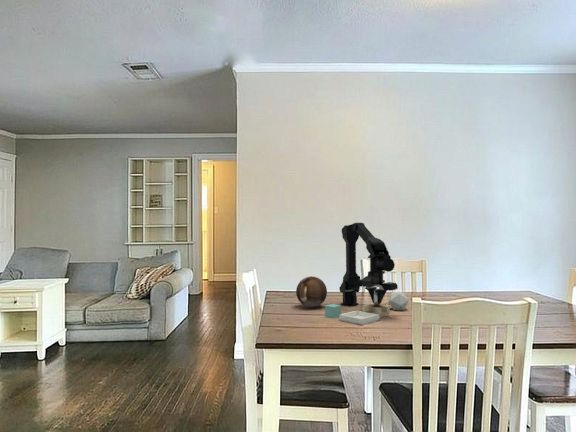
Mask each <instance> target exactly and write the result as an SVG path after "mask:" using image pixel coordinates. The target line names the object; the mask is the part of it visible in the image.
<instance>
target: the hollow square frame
mask: <svg viewBox="0 0 576 432" xmlns="http://www.w3.org/2000/svg"><path fill="white" fill-rule="evenodd" d="M363 308H364V309H363V312H367V313H373V314H378V315H379V319H381V318H384V317H388V316H390V305H384V304H380V307H374V303H372V304H368V305H364V306H363Z"/></svg>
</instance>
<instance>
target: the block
mask: <svg viewBox="0 0 576 432" xmlns="http://www.w3.org/2000/svg"><path fill="white" fill-rule="evenodd" d="M324 306H325V308H324V311H325V312H324V315H325V316H324V317H326V318H331V319H337V318H339V315H340V314H342V304H334V303H331V304H326V305H324Z"/></svg>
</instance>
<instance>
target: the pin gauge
mask: <svg viewBox="0 0 576 432" xmlns="http://www.w3.org/2000/svg"><path fill="white" fill-rule="evenodd" d="M377 289H378V288H377ZM377 289H374V303H373V304H374V307H380V305H381V304H378V292H377Z"/></svg>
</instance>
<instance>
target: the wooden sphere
mask: <svg viewBox="0 0 576 432" xmlns="http://www.w3.org/2000/svg"><path fill="white" fill-rule="evenodd" d="M327 293H328V290H327V286H326V284H325V282H324V281H323V280H322V279H321V278H319V277H317V276H306V277H304V278H302V279H301V280H300V281H299V283H298V284H297V286H296V293H295V294H296V297H297V300H298V302H300V303H301V305H303V306H304V307H307V308H316V307H317V308H318V307H319V306H321V305H322V304H323V303H324V302H325V300H326V299H327V295H328V294H327Z"/></svg>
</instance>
